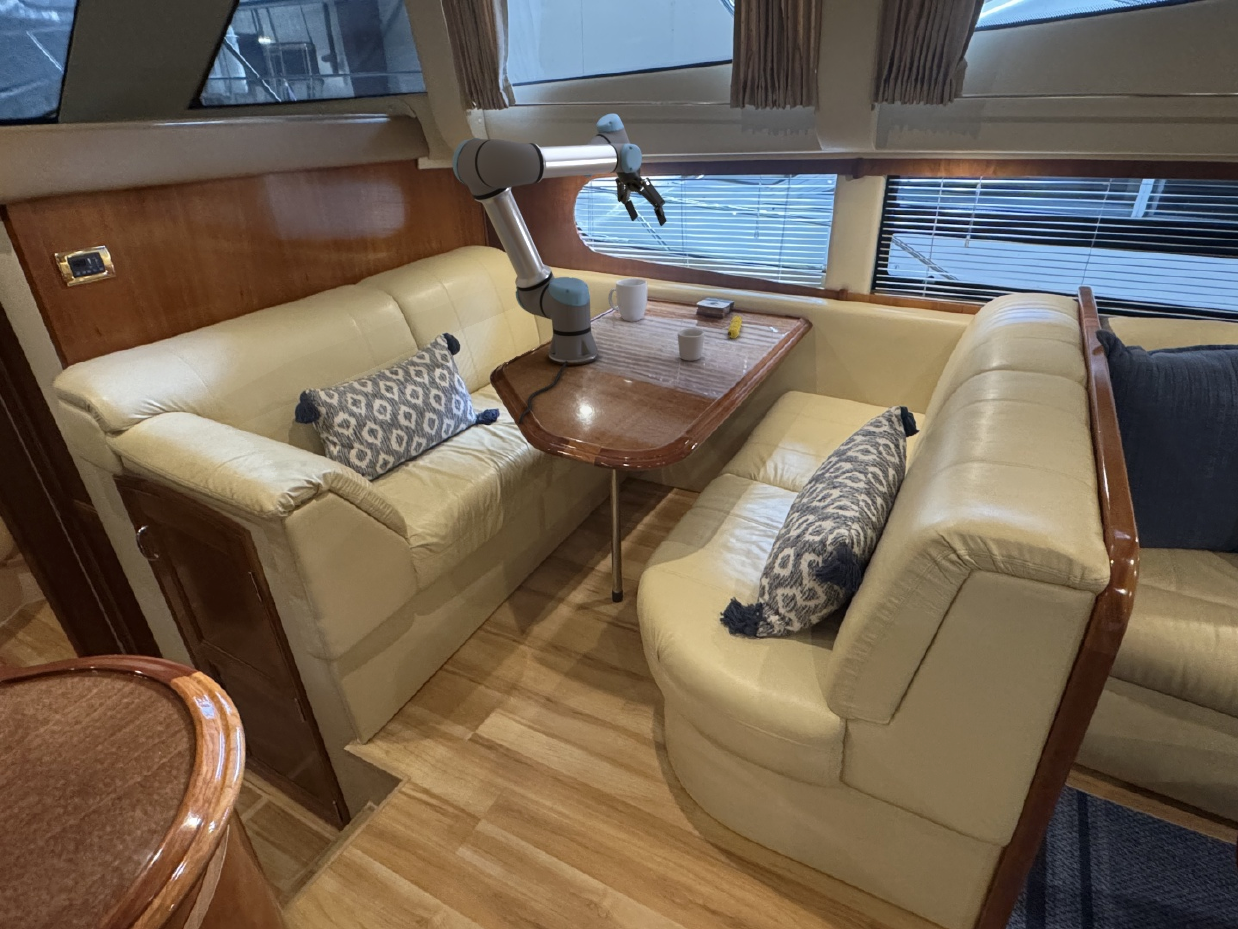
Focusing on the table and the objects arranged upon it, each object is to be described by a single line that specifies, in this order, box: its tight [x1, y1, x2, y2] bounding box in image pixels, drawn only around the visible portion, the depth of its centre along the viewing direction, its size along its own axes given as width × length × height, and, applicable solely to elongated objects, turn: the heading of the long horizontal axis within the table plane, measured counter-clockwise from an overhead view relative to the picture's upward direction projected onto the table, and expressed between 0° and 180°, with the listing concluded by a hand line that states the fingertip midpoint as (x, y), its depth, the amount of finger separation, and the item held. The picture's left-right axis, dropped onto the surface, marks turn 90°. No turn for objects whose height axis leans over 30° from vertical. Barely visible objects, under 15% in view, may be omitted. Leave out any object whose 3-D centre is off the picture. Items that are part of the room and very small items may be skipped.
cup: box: [677, 328, 705, 362], centre depth 200 cm, size 11×8×8 cm
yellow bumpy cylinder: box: [726, 315, 743, 339], centre depth 221 cm, size 17×4×4 cm, turn 166°
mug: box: [607, 277, 648, 322], centre depth 237 cm, size 15×11×13 cm
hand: (649, 221), depth 226 cm, fingers open, 13 cm apart
